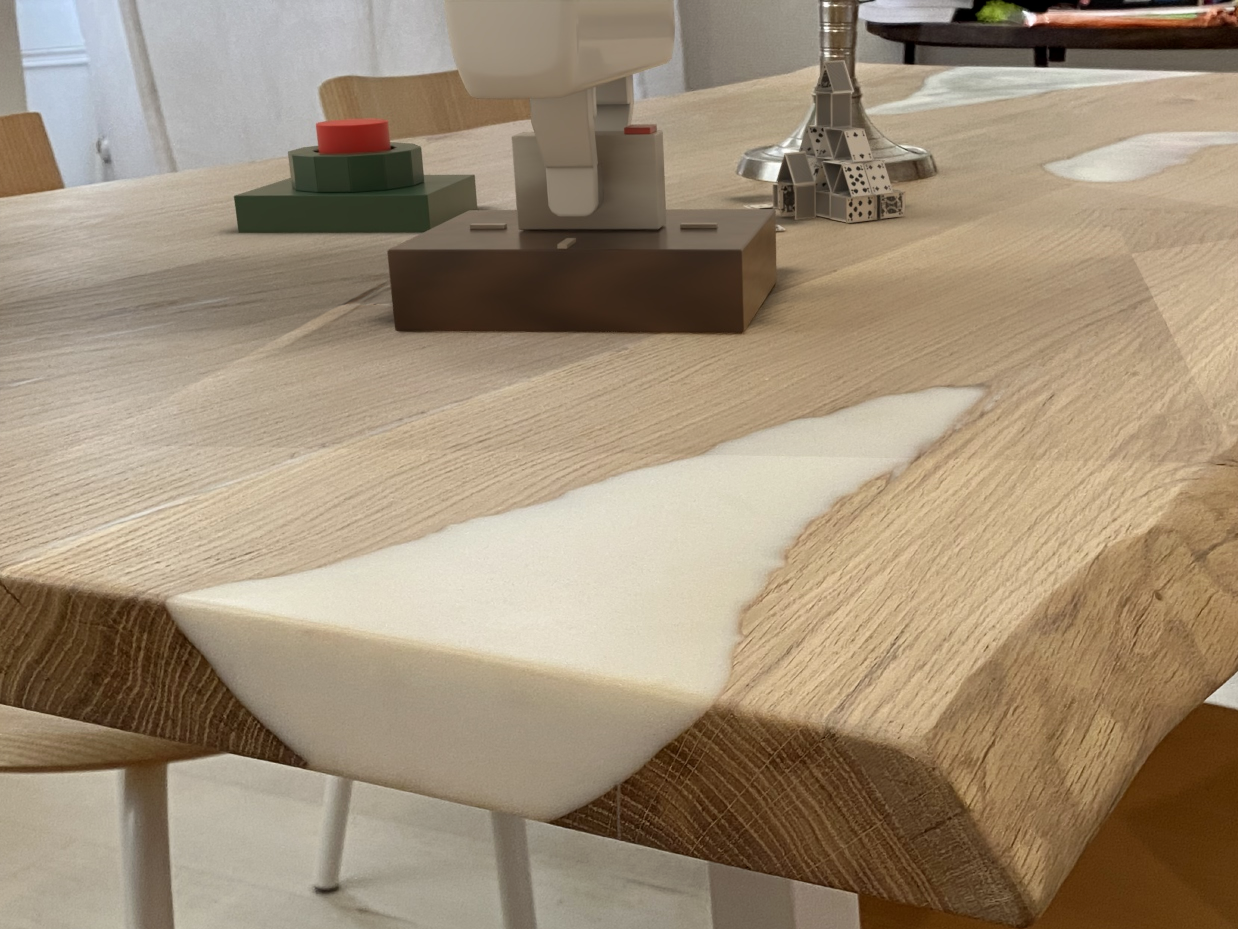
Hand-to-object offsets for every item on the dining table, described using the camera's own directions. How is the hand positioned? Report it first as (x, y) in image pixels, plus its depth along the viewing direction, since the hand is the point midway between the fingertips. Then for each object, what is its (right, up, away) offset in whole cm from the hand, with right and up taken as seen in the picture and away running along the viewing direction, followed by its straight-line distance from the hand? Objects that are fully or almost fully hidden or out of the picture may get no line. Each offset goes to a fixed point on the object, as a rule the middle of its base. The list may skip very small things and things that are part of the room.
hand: (590, 205), depth 62 cm
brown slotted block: (0, -4, +1) cm, 4 cm away
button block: (-14, +4, +22) cm, 27 cm away
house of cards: (+8, +4, +23) cm, 25 cm away
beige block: (0, -1, 0) cm, 1 cm away
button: (-14, +7, +21) cm, 26 cm away
